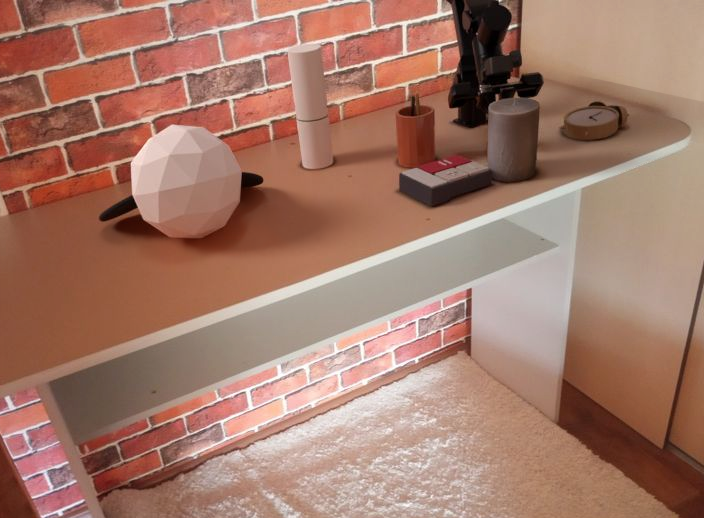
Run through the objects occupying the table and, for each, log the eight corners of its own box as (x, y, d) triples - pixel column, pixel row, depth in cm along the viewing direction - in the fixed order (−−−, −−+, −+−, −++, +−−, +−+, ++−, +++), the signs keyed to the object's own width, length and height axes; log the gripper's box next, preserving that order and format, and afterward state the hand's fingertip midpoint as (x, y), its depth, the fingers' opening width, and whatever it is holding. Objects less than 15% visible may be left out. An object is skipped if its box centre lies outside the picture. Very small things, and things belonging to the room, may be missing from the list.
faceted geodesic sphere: (112, 267, 123) (75, 142, 117) (108, 250, 151) (78, 147, 144) (300, 221, 131) (275, 100, 124) (263, 212, 158) (241, 113, 152)
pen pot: (391, 161, 157) (388, 111, 151) (420, 151, 160) (418, 102, 153) (413, 171, 151) (410, 119, 145) (442, 160, 154) (441, 109, 147)
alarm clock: (551, 120, 157) (599, 90, 161) (552, 140, 160) (599, 111, 164) (593, 131, 149) (641, 99, 152) (593, 152, 152) (641, 121, 155)
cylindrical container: (334, 155, 164) (322, 42, 150) (332, 167, 158) (319, 50, 144) (304, 158, 165) (289, 45, 151) (300, 170, 159) (285, 54, 145)
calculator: (493, 166, 138) (431, 185, 133) (492, 187, 141) (431, 206, 135) (457, 152, 147) (398, 169, 141) (456, 172, 149) (398, 190, 144)
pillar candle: (542, 166, 144) (548, 91, 136) (525, 185, 138) (530, 108, 130) (497, 161, 149) (499, 89, 141) (478, 179, 143) (480, 105, 135)
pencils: (406, 156, 155) (403, 91, 147) (418, 152, 157) (416, 88, 148) (414, 159, 153) (412, 94, 145) (426, 155, 154) (424, 90, 146)
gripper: (450, 43, 141) (462, 116, 138) (544, 29, 140) (558, 102, 137) (442, 73, 152) (453, 141, 149) (530, 61, 151) (542, 129, 148)
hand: (501, 128), depth 146 cm, fingers closed
